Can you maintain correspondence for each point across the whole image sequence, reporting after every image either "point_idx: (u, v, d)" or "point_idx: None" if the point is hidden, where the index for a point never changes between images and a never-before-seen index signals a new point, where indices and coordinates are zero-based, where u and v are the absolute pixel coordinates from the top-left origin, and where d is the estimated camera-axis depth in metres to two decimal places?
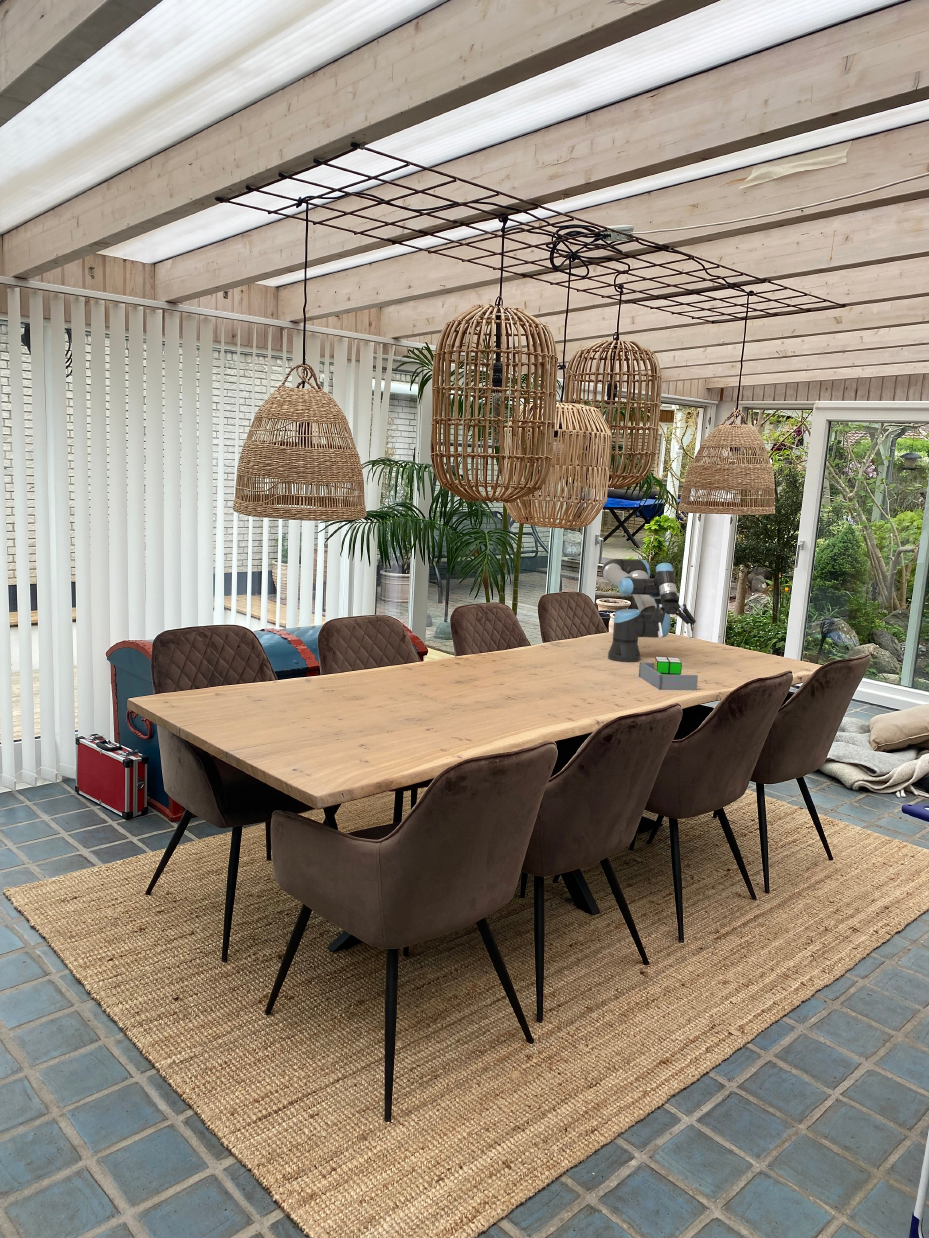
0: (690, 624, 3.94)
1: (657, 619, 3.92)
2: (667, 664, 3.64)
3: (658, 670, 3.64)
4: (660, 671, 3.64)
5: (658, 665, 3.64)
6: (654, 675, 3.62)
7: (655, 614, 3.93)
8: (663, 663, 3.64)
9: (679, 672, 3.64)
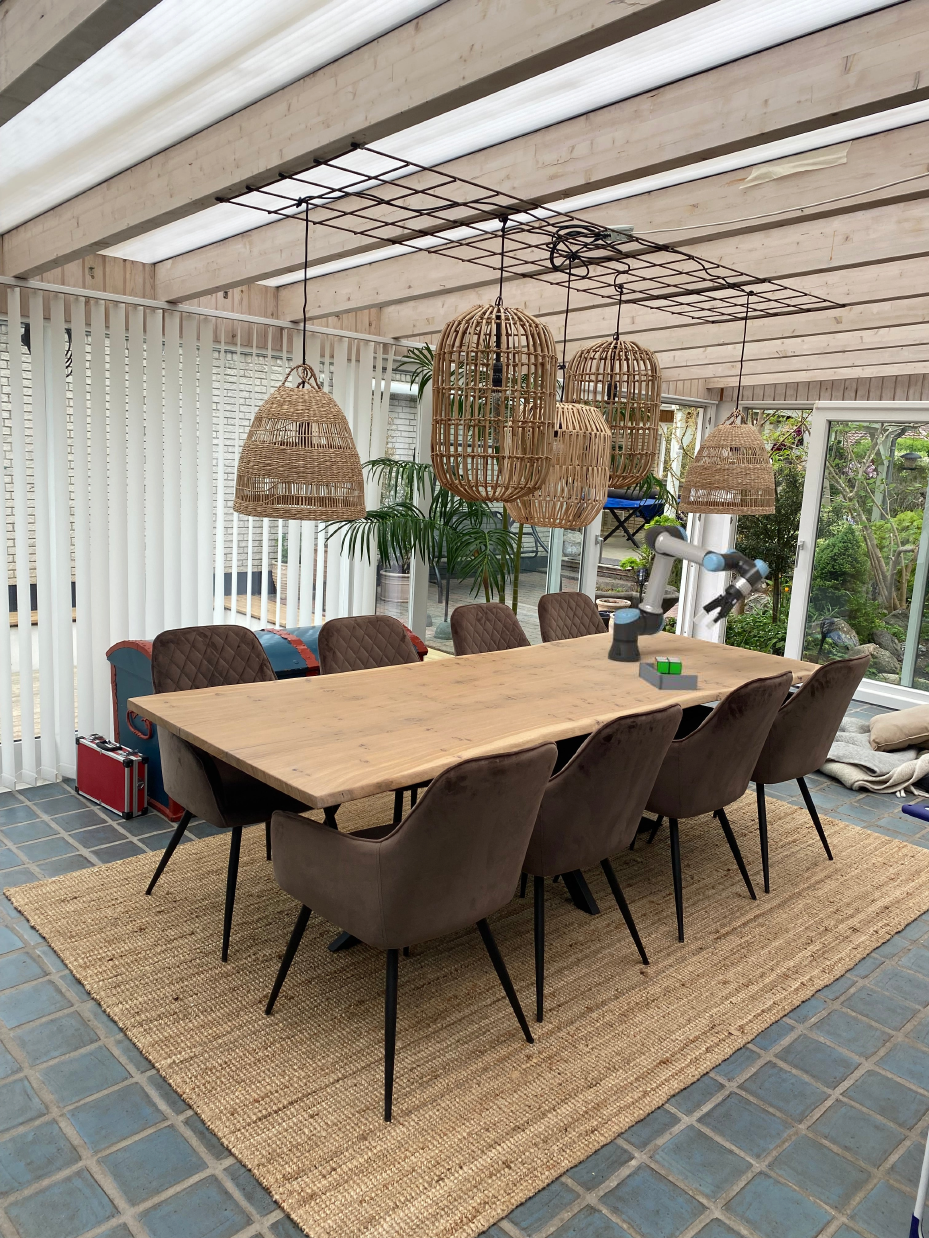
0: None
1: None
2: (667, 664, 3.64)
3: (658, 670, 3.64)
4: (660, 671, 3.64)
5: (658, 665, 3.64)
6: (654, 675, 3.62)
7: None
8: (663, 663, 3.64)
9: (679, 672, 3.64)
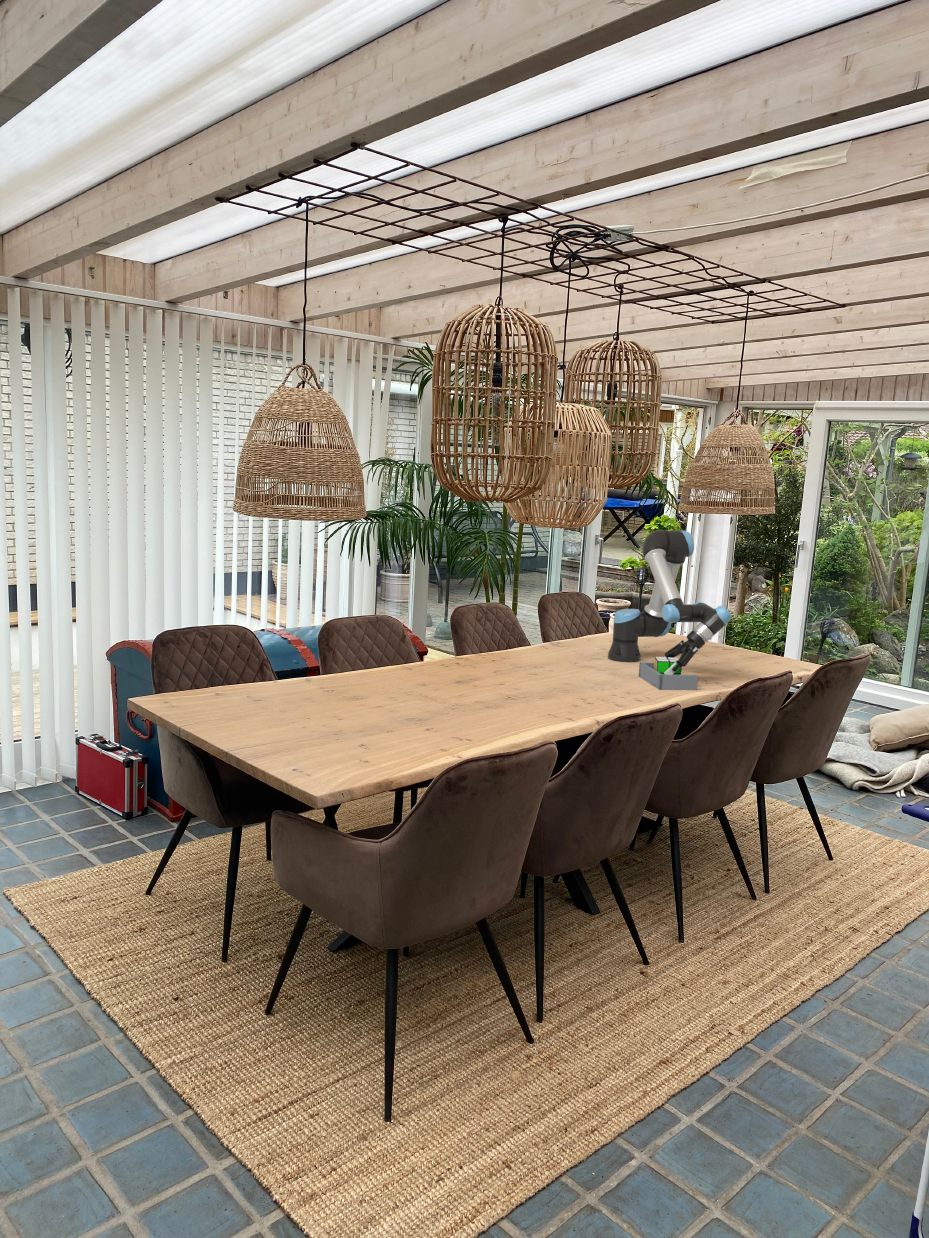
0: None
1: None
2: (667, 664, 3.64)
3: (658, 670, 3.64)
4: (660, 671, 3.64)
5: (658, 665, 3.64)
6: (654, 675, 3.62)
7: None
8: (663, 663, 3.64)
9: (679, 672, 3.64)
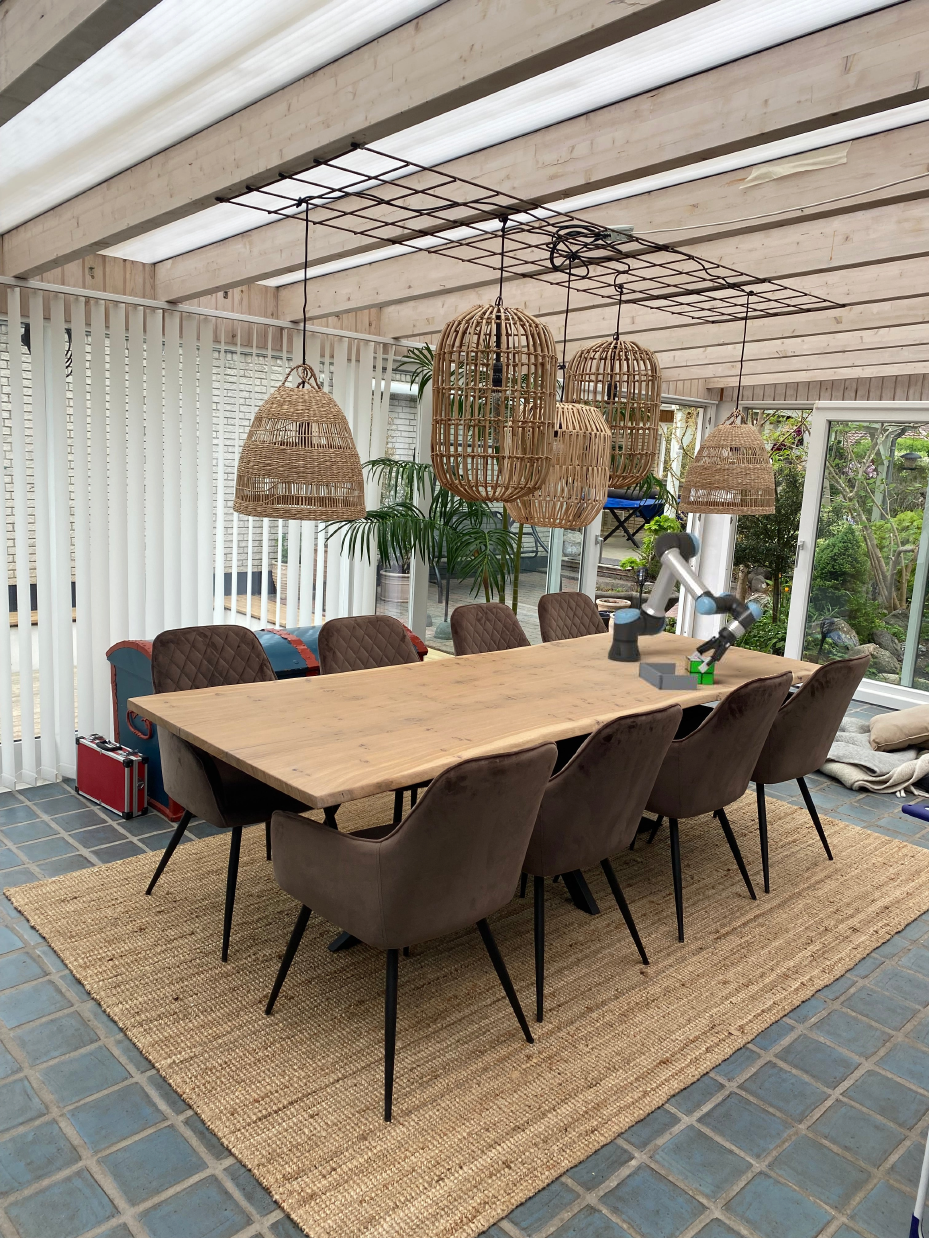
0: None
1: None
2: (700, 663, 3.68)
3: (691, 669, 3.69)
4: (693, 670, 3.69)
5: (691, 664, 3.68)
6: (654, 675, 3.62)
7: None
8: (696, 662, 3.68)
9: (712, 671, 3.69)
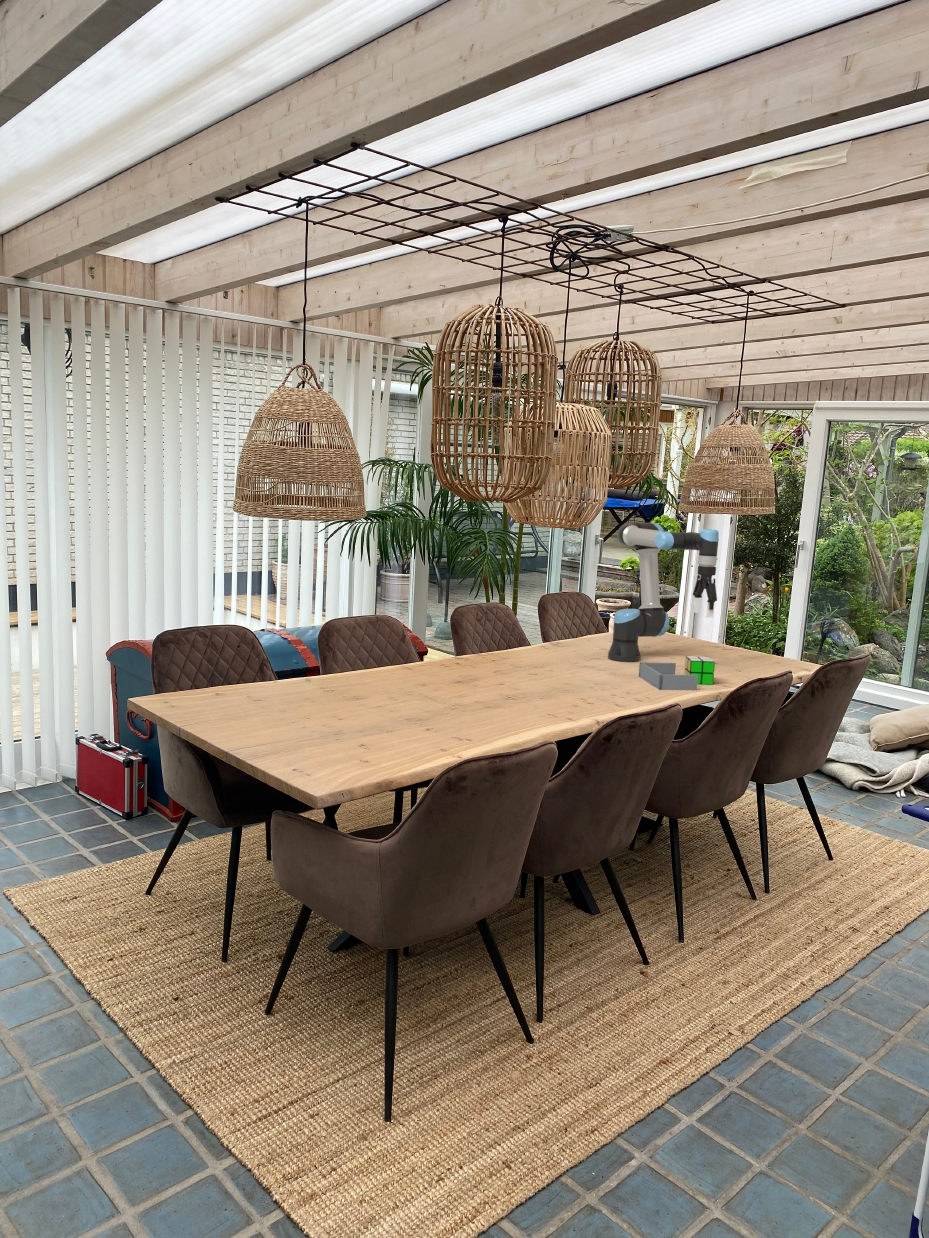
0: None
1: None
2: (700, 663, 3.68)
3: (691, 669, 3.69)
4: (693, 670, 3.69)
5: (691, 664, 3.68)
6: (654, 675, 3.62)
7: None
8: (696, 662, 3.68)
9: (712, 671, 3.69)
